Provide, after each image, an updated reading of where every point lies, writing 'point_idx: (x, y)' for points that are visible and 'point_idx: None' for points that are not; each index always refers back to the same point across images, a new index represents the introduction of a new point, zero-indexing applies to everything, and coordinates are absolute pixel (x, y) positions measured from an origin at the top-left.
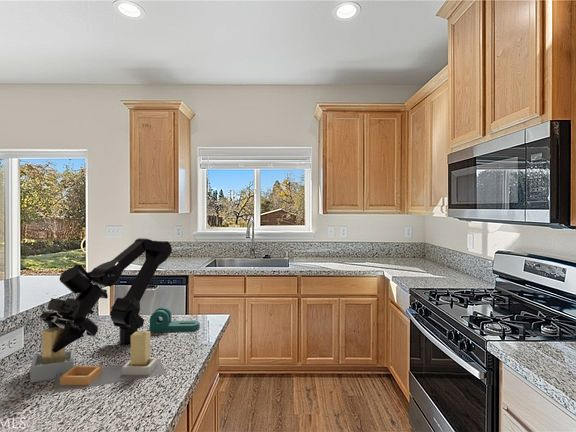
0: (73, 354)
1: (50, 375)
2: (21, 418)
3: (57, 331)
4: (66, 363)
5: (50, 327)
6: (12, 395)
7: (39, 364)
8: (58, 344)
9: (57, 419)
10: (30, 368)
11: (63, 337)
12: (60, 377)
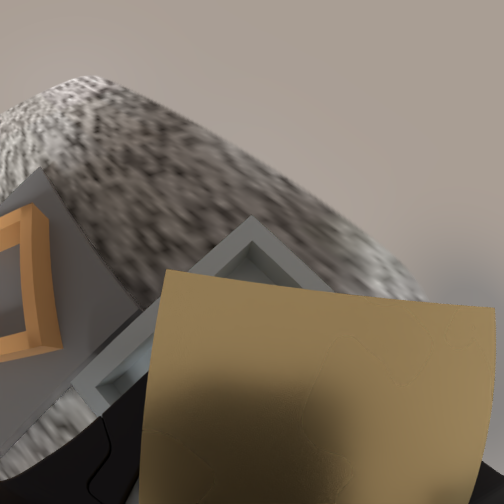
0: None
1: None
2: (76, 95)
3: (148, 456)
4: (99, 356)
5: (499, 496)
6: (204, 150)
7: None
8: (142, 378)
9: (6, 126)
10: (251, 219)
11: (79, 436)
12: (31, 204)
